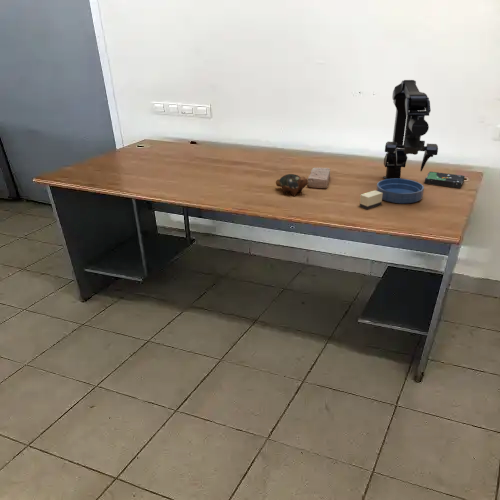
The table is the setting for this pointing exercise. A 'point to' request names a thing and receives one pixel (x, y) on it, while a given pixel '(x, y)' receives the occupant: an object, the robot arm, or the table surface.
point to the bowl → (400, 190)
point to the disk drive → (444, 179)
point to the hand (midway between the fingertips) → (408, 170)
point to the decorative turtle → (292, 183)
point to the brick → (319, 177)
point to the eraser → (371, 199)
